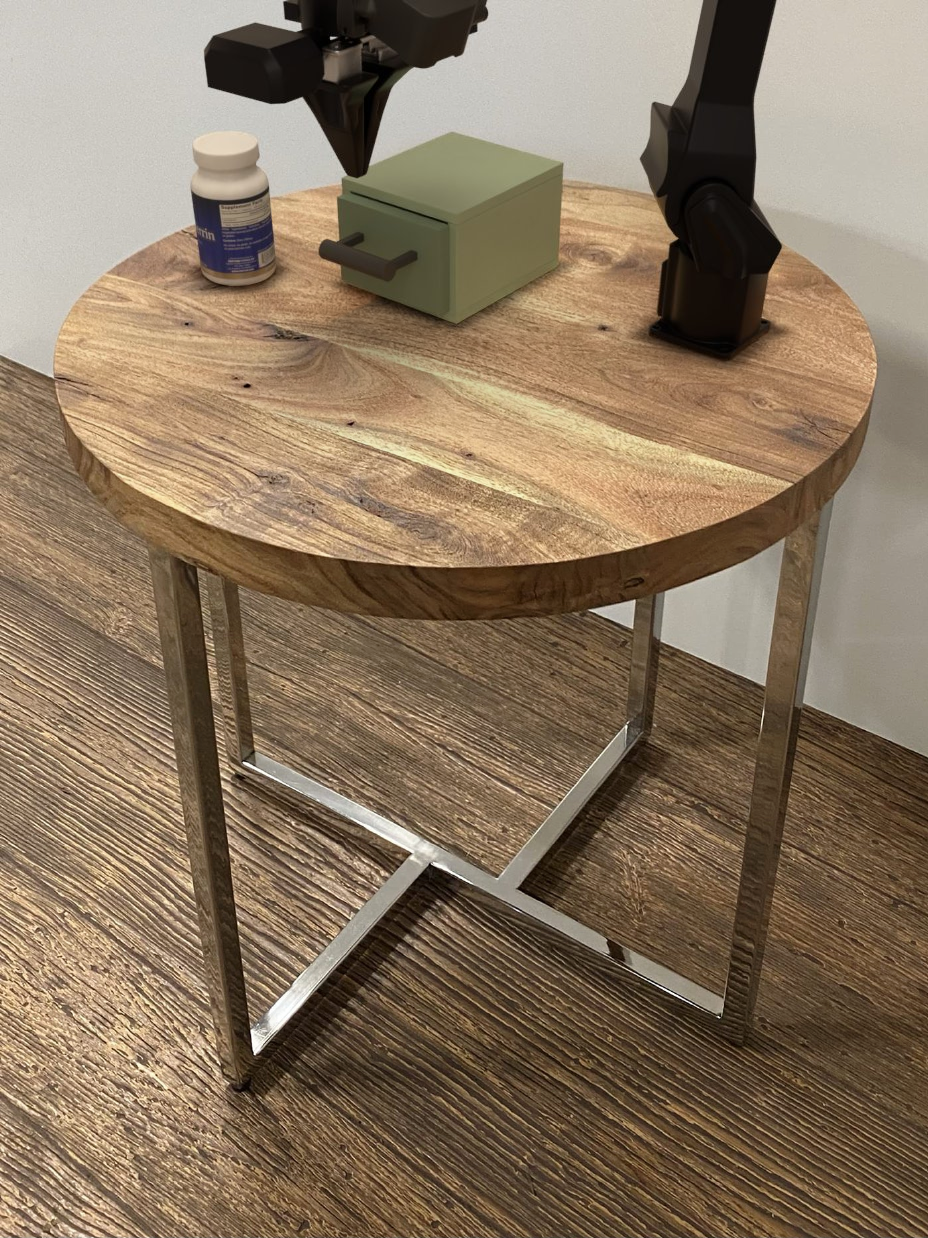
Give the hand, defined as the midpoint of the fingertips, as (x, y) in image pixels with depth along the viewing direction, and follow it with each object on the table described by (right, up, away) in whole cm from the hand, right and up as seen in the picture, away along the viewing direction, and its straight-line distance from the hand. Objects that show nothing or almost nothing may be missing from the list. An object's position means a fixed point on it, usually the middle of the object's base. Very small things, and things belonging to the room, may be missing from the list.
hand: (356, 175), depth 84 cm
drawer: (+4, -3, +13) cm, 14 cm away
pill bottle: (-10, -2, +16) cm, 19 cm away
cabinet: (+6, -2, +16) cm, 17 cm away
